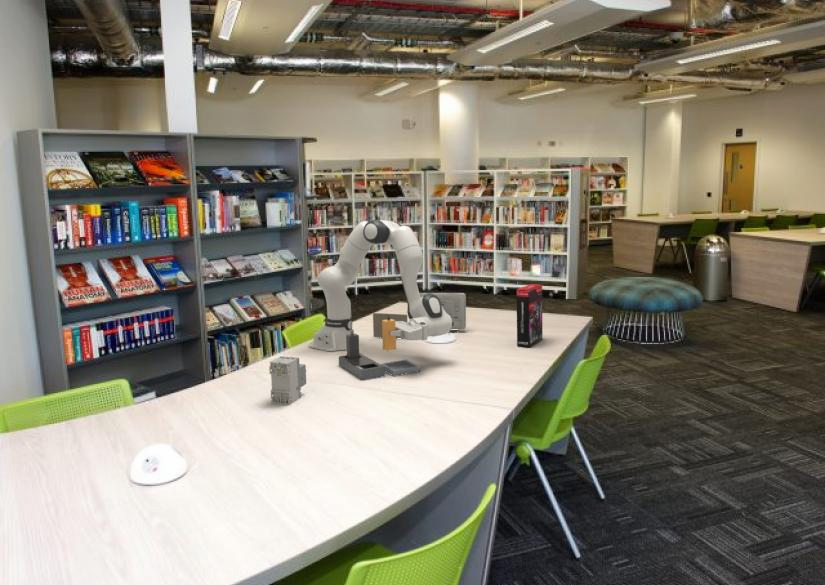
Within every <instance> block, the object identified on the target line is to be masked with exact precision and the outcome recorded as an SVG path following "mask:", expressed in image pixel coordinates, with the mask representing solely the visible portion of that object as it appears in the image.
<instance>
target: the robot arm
mask: <svg viewBox="0 0 825 585" xmlns="http://www.w3.org/2000/svg"><path fill="white" fill-rule="evenodd" d="M373 245H380V246H392V248H393V251H394V253H395V257H396V259H397V263H398V267H399V272H400V279H401V284H402V288H403V292H404V295H405V298H406V304H407V312H406V313H407V318H409V321H407V323H406V322H404V321H395V326H396V331H389V335H390V336H401V337H403V338H405V339H407V340H406V341H427V340H428V337H431V338H432V337H440V336H444V335H447V334H446V333H450V330H451V327H452V319H451V317H450V315H448V314H447V313H446V312H445V310H444V309H443V307H442V305H441V301H440V299H439V298H438V297H437V296H436V295H434V294H431V293H432V292H427V293H428V294H426V295H424V296H423V297H420V293H421V292H420V291H419V290H420V289H419V287H418V282H417V281H418V276H419V275H418V274H419V272H420V270H421V269H422V268H421V267H422V265H423V263H424V255H423V252H422V248H421V246H420V242H419V241H418V238H417V237H416V235H415V233H414V231H413V229H412V228H411V227H409V226H407V225H402V224H401V223H399V222H397V221H392V220H390V219H389V220H387V219H372V220H369V221H367V220H366V221H365V220H364V221H360V222H359V223H358V224H357V225H356V226H355V227H354V228H353V230H352V231H351V233H349V235H348V238H346V240H345V242H344V244H343V245H342V247H341V249H340V250H339V258H338V260H337V262H336V263H335V264H334V265H331V266H327V267H325V268H324V269H323V270H321V271H320V272H319V273H318V276H317V283H318V286H319V287H320V288H321V289H322V292H323V294H324V297H325V301H326V311H327V312H326V313H327V317H326V318H324V319H323V320H322V323H324V325H323V326H321V328H319V329H318V330H317V331H316V332H314V334H313V340H312V341H311V342H310V343H309V344H308V348H310V349H311V348H312V349H316V350H321V351H327V352H335V351H347V347H346V335H350V334H351V329H353V316H352V309H351V307H352V306H351V305H352V303H351V300H350V298H349V296H348V295H347V292H346V287H349V286H351V285H352V284H353V283H354V282H355V281H356V280H357V277H358V271H359V268H360V266H361V264H362V262H363V260H364V258H366V255H367V254H368V252H369V250H370V249H371V248H372V246H373Z"/></svg>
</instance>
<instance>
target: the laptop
mask: <svg viewBox="0 0 825 585" xmlns="http://www.w3.org/2000/svg"><path fill="white" fill-rule="evenodd" d="M387 314H388V313H385V312H383V313H382V312H373V313H372V323H373V324H372V327H373V329H372V330H373V338H374V337H381V338H380V339H383V337H382V320H387ZM389 314H390V319H393V320H395V321H404V322H406V323H408V314H404V313H403V314H401V313H400V314H399V313H389ZM396 338H401V339H405V338H403V337H401V336H396Z"/></svg>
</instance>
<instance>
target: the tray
mask: <svg viewBox="0 0 825 585" xmlns="http://www.w3.org/2000/svg"><path fill="white" fill-rule="evenodd" d="M380 364H381V365H382V366H384V367H385V371H387V372H388V373H387V372H386V373H387V374H389V373H390V374H392V375H393V376H392V375H391V376H392V377H396V376H395V375H399V376H402V375H401V374H404V375H406V374H405V373H410V374H413V373H412V372H415V373H418V372H417V371H420V372H421V366H420V365H418V364H416V363H414V362H411V361H410V360H407V359H402V360H396V361H390V362H384V363H380ZM390 374H389V375H390Z"/></svg>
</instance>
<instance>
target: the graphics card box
mask: <svg viewBox="0 0 825 585" xmlns="http://www.w3.org/2000/svg"><path fill="white" fill-rule="evenodd" d="M542 340H543V285H542V284H534V283H529V284H528V285H526V286H522V287H520V288H517V289H516V341H517V342H516V346H517V347H522V348H531V347H532V346H534V345H535V344H537V343H539V342H541V341H542Z"/></svg>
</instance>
